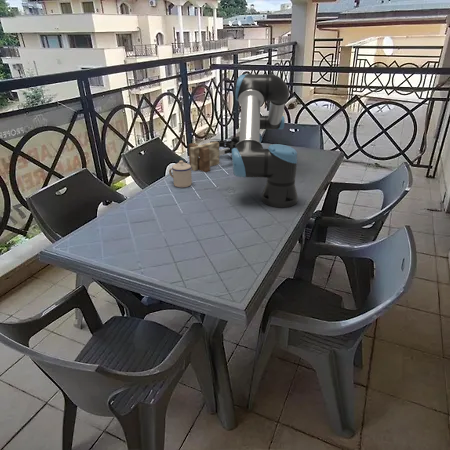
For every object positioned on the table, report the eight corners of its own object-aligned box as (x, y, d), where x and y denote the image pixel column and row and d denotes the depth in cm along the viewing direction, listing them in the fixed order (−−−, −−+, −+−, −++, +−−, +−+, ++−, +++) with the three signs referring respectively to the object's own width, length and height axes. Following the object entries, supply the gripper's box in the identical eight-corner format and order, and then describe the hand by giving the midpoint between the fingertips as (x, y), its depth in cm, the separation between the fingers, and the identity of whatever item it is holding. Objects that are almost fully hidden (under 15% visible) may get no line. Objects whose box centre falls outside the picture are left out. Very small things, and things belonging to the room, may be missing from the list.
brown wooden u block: (209, 171, 182) (209, 148, 176) (205, 172, 180) (204, 149, 175) (194, 164, 191) (192, 143, 186) (189, 165, 190) (188, 144, 184)
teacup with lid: (196, 182, 168) (194, 159, 162) (185, 189, 161) (183, 165, 155) (175, 178, 173) (173, 156, 167) (164, 184, 166) (162, 161, 160)
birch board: (215, 162, 194) (215, 141, 188) (219, 163, 192) (219, 142, 186) (191, 169, 184) (190, 147, 179) (194, 171, 182) (193, 148, 177)
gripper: (255, 153, 193) (226, 162, 181) (225, 144, 209) (197, 151, 197) (255, 140, 189) (226, 148, 177) (225, 132, 206) (196, 138, 193)
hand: (211, 150), depth 187 cm, fingers open, 13 cm apart
